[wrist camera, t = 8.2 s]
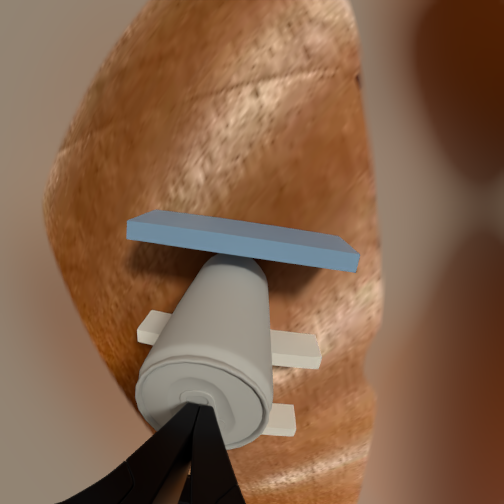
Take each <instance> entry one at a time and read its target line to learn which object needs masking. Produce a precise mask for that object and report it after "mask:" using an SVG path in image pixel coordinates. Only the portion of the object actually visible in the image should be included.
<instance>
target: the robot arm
mask: <svg viewBox="0 0 504 504" xmlns="http://www.w3.org/2000/svg"><path fill="white" fill-rule="evenodd" d="M190 466H191V473H190V475H188V472H189V469H190ZM56 504H246V503H245V500H244V498H243V495H242V493H241V490H240V488H239V485H238V482H237V480H236V477H235V474H234V471H233V468H232V465H231V462H230V459H229V456H228V453H227V450H226V447H225V444H224V441H223V438H222V434H221V431H220V428H219V425H218V421H217V418H216V415H215V411H214V408H213V407H212V406H208V405H201V406H200V405H199V404H197V403H192V402H188V403H186V404H185V405H184V406H183V407H182V408H181V409H180V410H179V411H178V412H177V413H176V414H175V415H174V416H173V417H172V418H171V419H170V420H169V421H168V422H167V423H166V424H164V425H163V426H162V427H161V428H160V429H159V430H158V431H157V432H156V433H155V434H154V435H153V436H152V437H151V438H149V439H148V440H147V441H146V442H145V443H144V444H143V445H142V446H141V447H140V448H139V449H137V450H136V451H135V452H134V453H133V454H132V455H131V456H130V457H128V458H127V459H126V461H124V462H123V463H122V464H120V465H119V466H118V467H117V468H116V469H114V470H113V471H112V472H111V473H109V474H108V475H107V476H105V477H104V478H102V479H101V480H99V481H98V482H96V483H95V484H93V485H91V486H90V487H88V488H86V489H85V490H83V491H81V492H79V493H78V494H76V495H74V496H72V497H71V498H69V499H67V500H65V501H62V502H59V503H56Z"/></svg>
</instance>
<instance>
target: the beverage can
mask: <svg viewBox="0 0 504 504" xmlns="http://www.w3.org/2000/svg"><path fill="white" fill-rule="evenodd" d="M135 399H136V402H137V406H138V409H139V411H140V412H141V414H142V415H143V417H144V418H145V420H146V421H147V422H148V423H149V424H150V425H151V426H152V427H153V428H154V429H155V430H156V431H158V430H159V429H160V428H161V427H162V426H163V425H164V424H166V423H167V422H168V421H169V420H170V419H171V418H172V417H173V416H174V415H175V414H176V413H177V412H178V411H179V410H180V409H181V408H182V407H183V406H184V405H185V404H186V403H188V402H192V403H197V404H199V405H200V406H201V405H208V406H212V407H213V408H214V411H215V415H216V418H217V421H218V425H219V428H220V431H221V434H222V438H223V441H224V444H225V447H226V450H229V449H234V448H238V447H242V446H244V445H246V444H248V443H250V442H252V441H254V440H255V439H256V438H257V437H258V436H260V435H261V434H262V433H263V431H264V429H265V428H266V426H267V424H268V421H269V413H270V411H271V409H272V401H273V375H272V354H271V335H270V317H269V297H268V283H267V280H266V276H265V274H264V272H263V271H262V269H261V267H260V266H259V265H258V264H257V263H256V262H255V261H254V260H253V259H252V258H250V257H244V256H237V255H230V254H224V253H219V254H217V255H215V256H213V257H211V258H210V259H209V260H208V261H207V262H206V263H205V264H204V265H203V267H202V268H201V270H200V271H199V273H198V274H197V276H196V277H195V279H194V280H193V282H192V284H191V285H190V287H189V288H188V290H187V291H186V293H185V294H184V296H183V297H182V299H181V301H180V302H179V304H178V305H177V307H176V309H175V310H174V312H173V314H172V315H171V317H170V319H169V320H168V322H167V324H166V325H165V327H164V329H163V330H162V332H161V334H160V335H159V337H158V339H157V340H156V342H155V344H154V345H153V347H152V349H151V351H150V352H149V354H148V356H147V357H146V359H145V361H144V363H143V365H142V367H141V369H140V371H139V380H138V382H137V384H136V390H135Z"/></svg>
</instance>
